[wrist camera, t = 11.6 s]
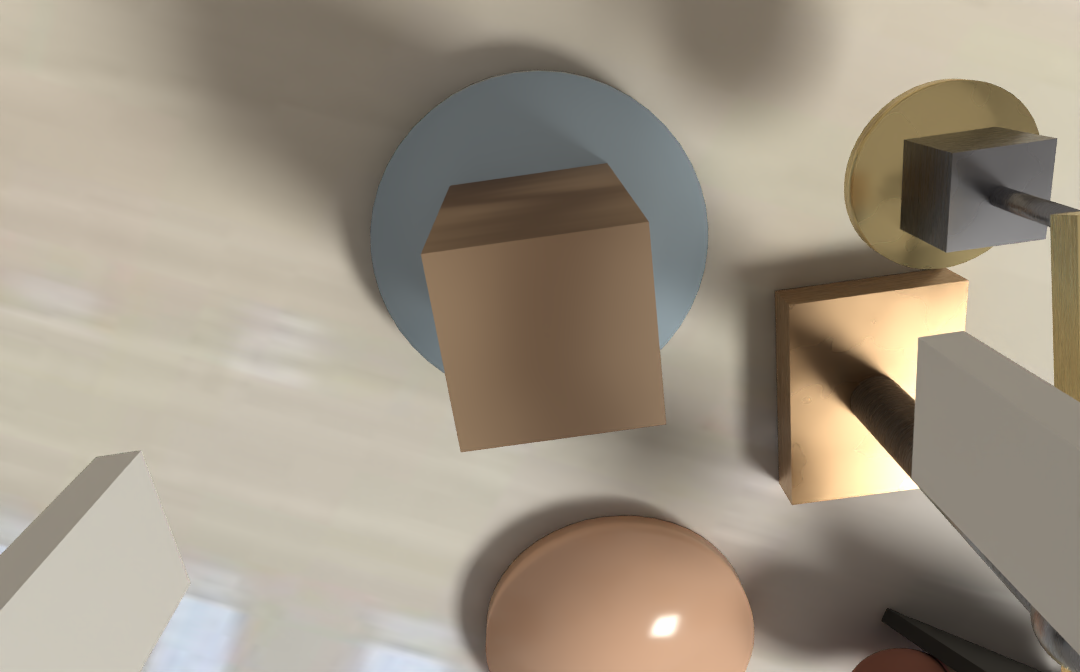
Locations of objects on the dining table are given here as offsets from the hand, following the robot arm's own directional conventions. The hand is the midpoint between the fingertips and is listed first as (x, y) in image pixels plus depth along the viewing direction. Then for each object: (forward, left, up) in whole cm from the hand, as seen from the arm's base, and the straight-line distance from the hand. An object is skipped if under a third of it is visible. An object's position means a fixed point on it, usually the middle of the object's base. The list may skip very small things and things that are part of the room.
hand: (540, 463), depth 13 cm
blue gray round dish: (0, 0, -14) cm, 14 cm away
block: (0, 0, -13) cm, 13 cm away
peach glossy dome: (+1, -17, -14) cm, 22 cm away
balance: (+11, -7, -14) cm, 19 cm away
